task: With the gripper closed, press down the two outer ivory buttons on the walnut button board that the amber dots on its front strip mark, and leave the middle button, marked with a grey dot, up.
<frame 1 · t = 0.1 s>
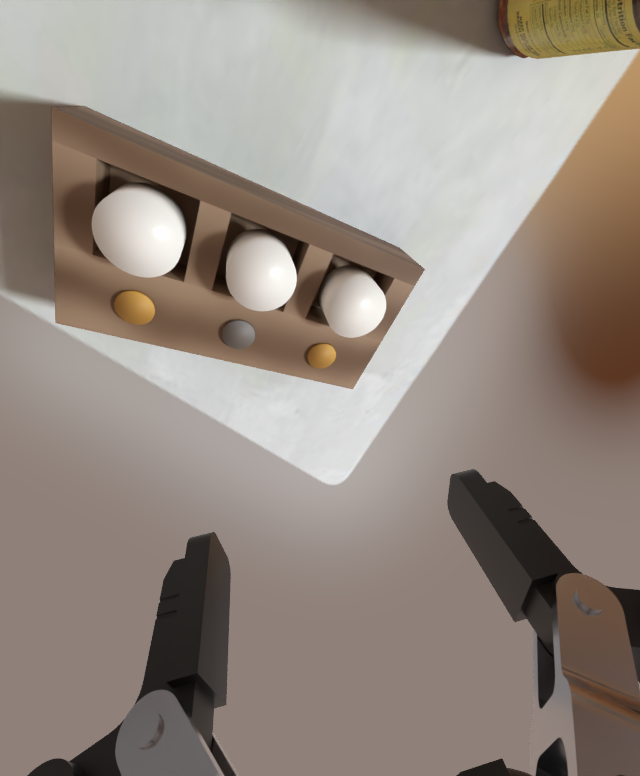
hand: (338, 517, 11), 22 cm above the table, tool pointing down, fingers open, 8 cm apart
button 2: (260, 270, 22), point 5 cm above the table, slide at 0.0 cm
button 3: (351, 301, 25), point 5 cm above the table, slide at 0.0 cm
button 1: (143, 230, 19), point 5 cm above the table, slide at 0.0 cm
button board: (248, 268, 27), on the table
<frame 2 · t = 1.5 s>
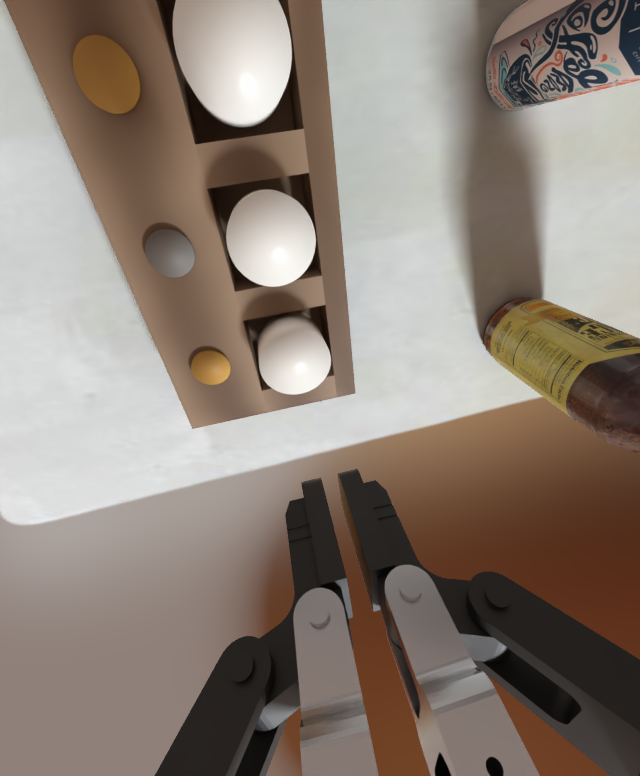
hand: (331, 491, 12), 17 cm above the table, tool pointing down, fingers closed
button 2: (270, 237, 18), point 5 cm above the table, slide at 0.0 cm
button 3: (292, 353, 22), point 5 cm above the table, slide at 0.0 cm
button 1: (235, 58, 14), point 5 cm above the table, slide at 0.0 cm
button board: (235, 230, 22), on the table
beer can: (515, 63, 21), on the table
sauce bottle: (508, 326, 31), on the table
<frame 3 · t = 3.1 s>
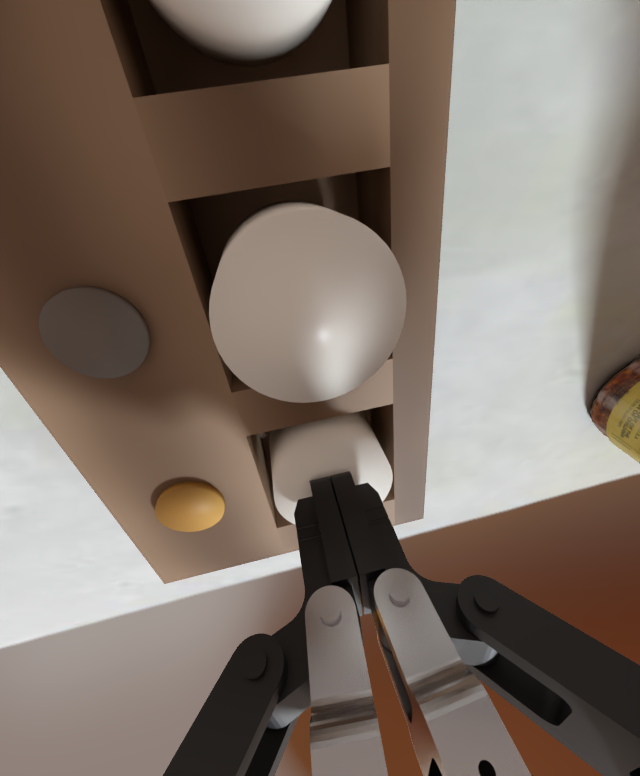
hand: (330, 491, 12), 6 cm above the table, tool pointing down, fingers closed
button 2: (302, 300, 9), point 6 cm above the table, slide at 0.0 cm
button 3: (326, 461, 13), point 4 cm above the table, slide at 1.1 cm, touching gripper
button board: (233, 266, 13), on the table
sauce bottle: (625, 388, 21), on the table
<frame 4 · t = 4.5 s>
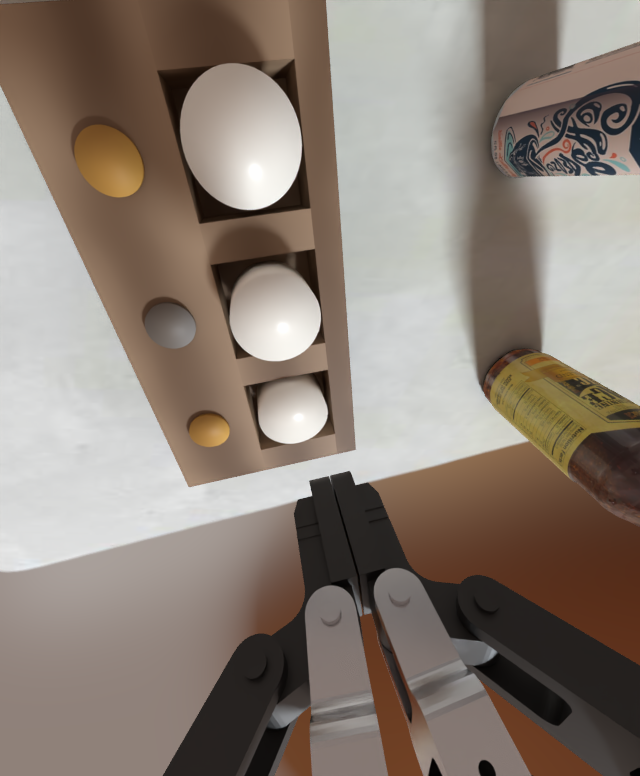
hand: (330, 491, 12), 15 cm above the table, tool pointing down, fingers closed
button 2: (273, 310, 18), point 5 cm above the table, slide at 0.0 cm
button 3: (290, 403, 23), point 4 cm above the table, slide at 1.5 cm
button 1: (243, 146, 14), point 5 cm above the table, slide at 0.0 cm
button board: (236, 288, 22), on the table
beer can: (520, 132, 21), on the table
sauce bottle: (507, 373, 31), on the table
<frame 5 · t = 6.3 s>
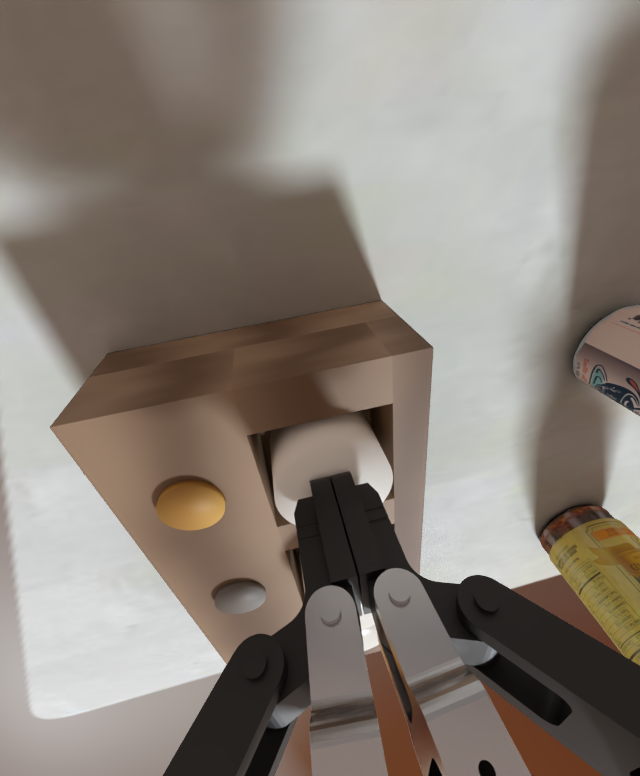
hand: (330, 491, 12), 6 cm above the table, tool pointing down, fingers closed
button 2: (347, 577, 17), point 5 cm above the table, slide at 0.0 cm
button 3: (351, 611, 22), point 4 cm above the table, slide at 1.5 cm
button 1: (327, 461, 14), point 4 cm above the table, slide at 1.0 cm, touching gripper
button board: (294, 497, 21), on the table
beer can: (602, 341, 19), on the table
sauce bottle: (565, 522, 29), on the table
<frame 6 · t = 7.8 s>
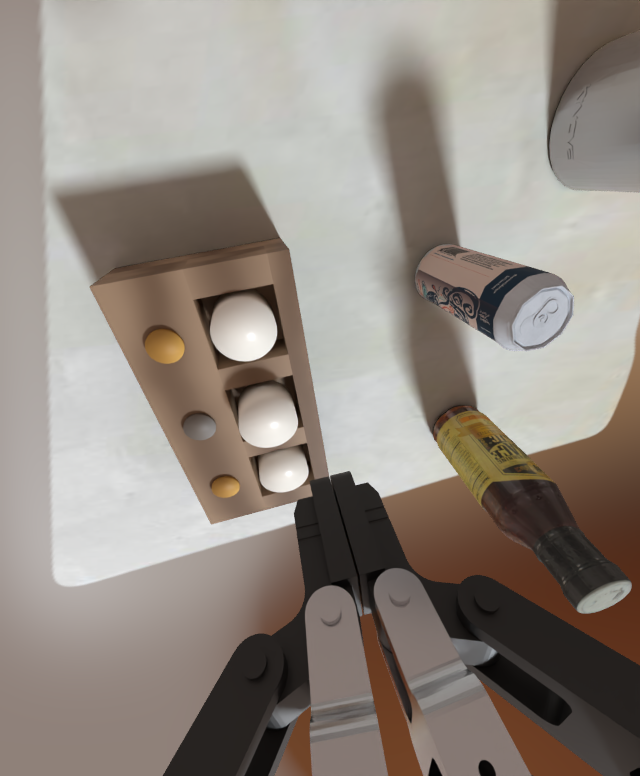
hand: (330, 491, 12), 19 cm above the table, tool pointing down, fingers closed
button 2: (267, 413, 26), point 6 cm above the table, slide at 0.0 cm
button 3: (282, 463, 31), point 4 cm above the table, slide at 1.5 cm
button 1: (243, 324, 24), point 4 cm above the table, slide at 1.5 cm
button board: (241, 384, 31), on the table
beer can: (436, 271, 29), on the table
sauce bottle: (452, 422, 40), on the table
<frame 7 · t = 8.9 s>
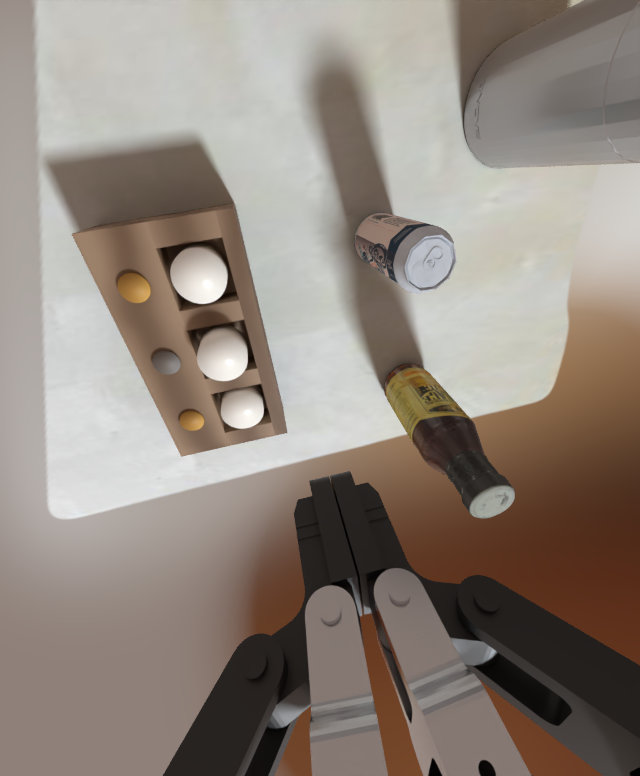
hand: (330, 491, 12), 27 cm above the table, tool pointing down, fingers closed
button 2: (223, 352, 31), point 5 cm above the table, slide at 0.0 cm
button 3: (242, 404, 37), point 4 cm above the table, slide at 1.5 cm
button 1: (201, 273, 29), point 4 cm above the table, slide at 1.5 cm
button board: (207, 334, 36), on the table
beer can: (375, 238, 34), on the table
sauce bottle: (402, 380, 44), on the table
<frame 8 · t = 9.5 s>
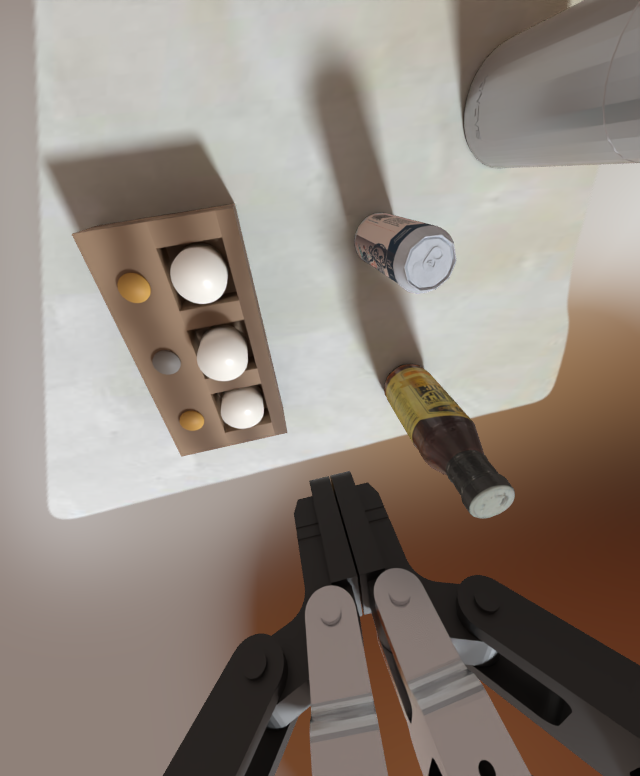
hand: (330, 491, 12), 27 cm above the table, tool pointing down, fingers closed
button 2: (223, 352, 31), point 5 cm above the table, slide at 0.0 cm
button 3: (242, 404, 37), point 4 cm above the table, slide at 1.5 cm
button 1: (201, 273, 29), point 4 cm above the table, slide at 1.5 cm
button board: (207, 334, 36), on the table
beer can: (375, 238, 34), on the table
sauce bottle: (402, 380, 44), on the table
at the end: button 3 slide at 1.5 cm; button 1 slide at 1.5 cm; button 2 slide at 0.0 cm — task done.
